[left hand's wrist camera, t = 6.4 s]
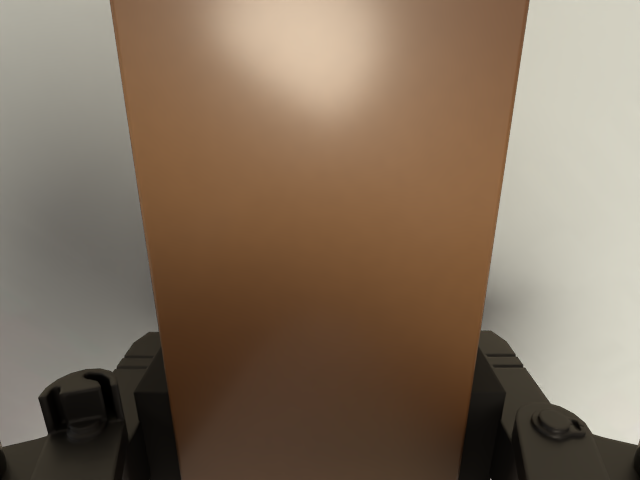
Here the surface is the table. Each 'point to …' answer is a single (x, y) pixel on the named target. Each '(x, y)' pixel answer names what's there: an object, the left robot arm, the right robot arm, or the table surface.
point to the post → (319, 223)
